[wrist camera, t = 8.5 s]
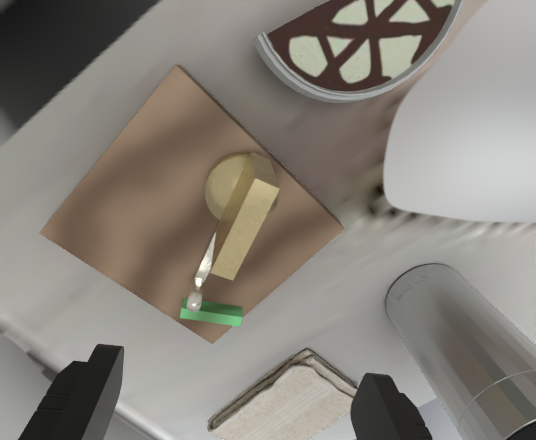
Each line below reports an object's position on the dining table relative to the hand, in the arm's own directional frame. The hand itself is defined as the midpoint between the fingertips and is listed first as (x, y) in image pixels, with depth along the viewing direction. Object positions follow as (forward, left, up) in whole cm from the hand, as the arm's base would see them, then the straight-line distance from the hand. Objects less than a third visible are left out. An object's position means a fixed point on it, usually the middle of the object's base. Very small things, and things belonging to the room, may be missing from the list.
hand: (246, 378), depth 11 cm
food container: (+2, -13, -22) cm, 26 cm away
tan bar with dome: (-1, +3, -20) cm, 20 cm away
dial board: (0, +6, -22) cm, 23 cm away
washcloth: (-25, +19, -23) cm, 39 cm away
